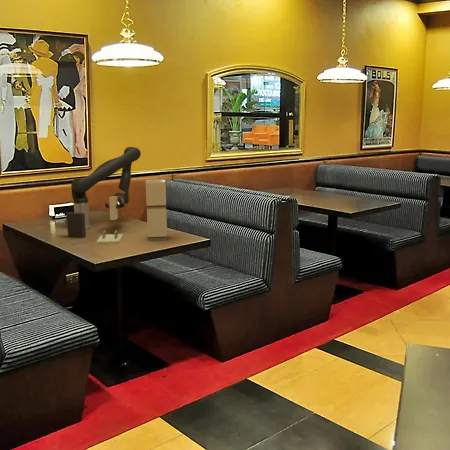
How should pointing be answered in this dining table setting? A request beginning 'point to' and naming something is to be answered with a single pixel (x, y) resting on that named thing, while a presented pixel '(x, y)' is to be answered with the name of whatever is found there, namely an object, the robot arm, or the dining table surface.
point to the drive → (113, 208)
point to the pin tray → (110, 237)
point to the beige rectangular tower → (156, 209)
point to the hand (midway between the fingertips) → (112, 207)
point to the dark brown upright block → (76, 224)
